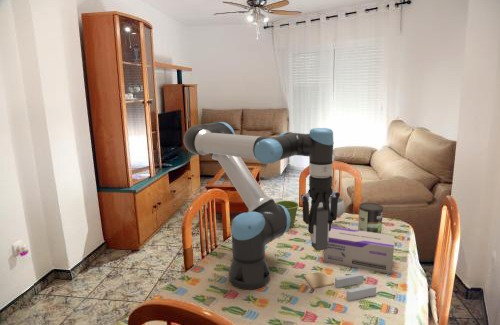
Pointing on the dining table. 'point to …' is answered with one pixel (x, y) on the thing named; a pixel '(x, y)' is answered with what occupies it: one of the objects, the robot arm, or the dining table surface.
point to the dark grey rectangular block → (321, 229)
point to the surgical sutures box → (360, 249)
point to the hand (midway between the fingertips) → (319, 240)
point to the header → (356, 292)
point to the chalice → (339, 209)
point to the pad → (318, 279)
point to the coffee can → (370, 217)
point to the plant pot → (290, 209)
